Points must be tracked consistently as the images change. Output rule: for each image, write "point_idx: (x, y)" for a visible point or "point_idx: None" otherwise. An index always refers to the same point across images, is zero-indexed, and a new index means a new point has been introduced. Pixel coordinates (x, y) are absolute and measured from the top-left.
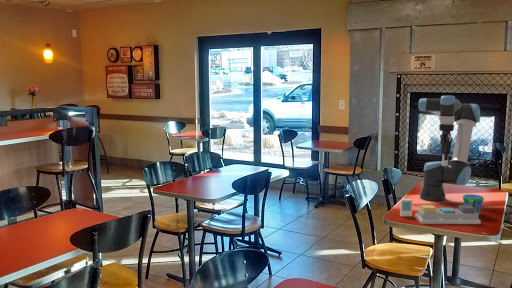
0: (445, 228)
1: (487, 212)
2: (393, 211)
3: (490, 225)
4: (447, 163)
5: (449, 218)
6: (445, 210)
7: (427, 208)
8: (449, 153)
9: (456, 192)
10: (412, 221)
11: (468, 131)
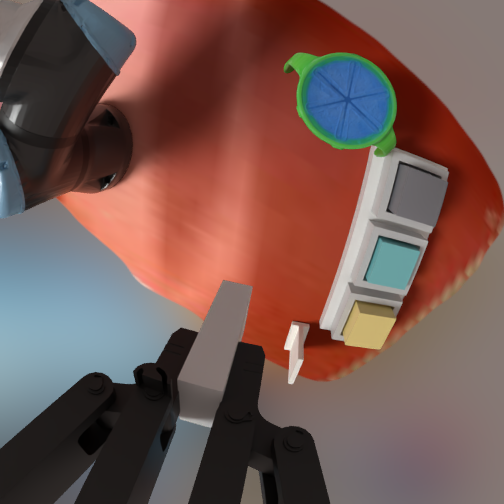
0: (435, 293)
1: (315, 38)
2: None
3: (457, 146)
4: (247, 304)
5: None
6: (405, 282)
7: (384, 340)
8: (307, 436)
9: None
10: None
11: None
